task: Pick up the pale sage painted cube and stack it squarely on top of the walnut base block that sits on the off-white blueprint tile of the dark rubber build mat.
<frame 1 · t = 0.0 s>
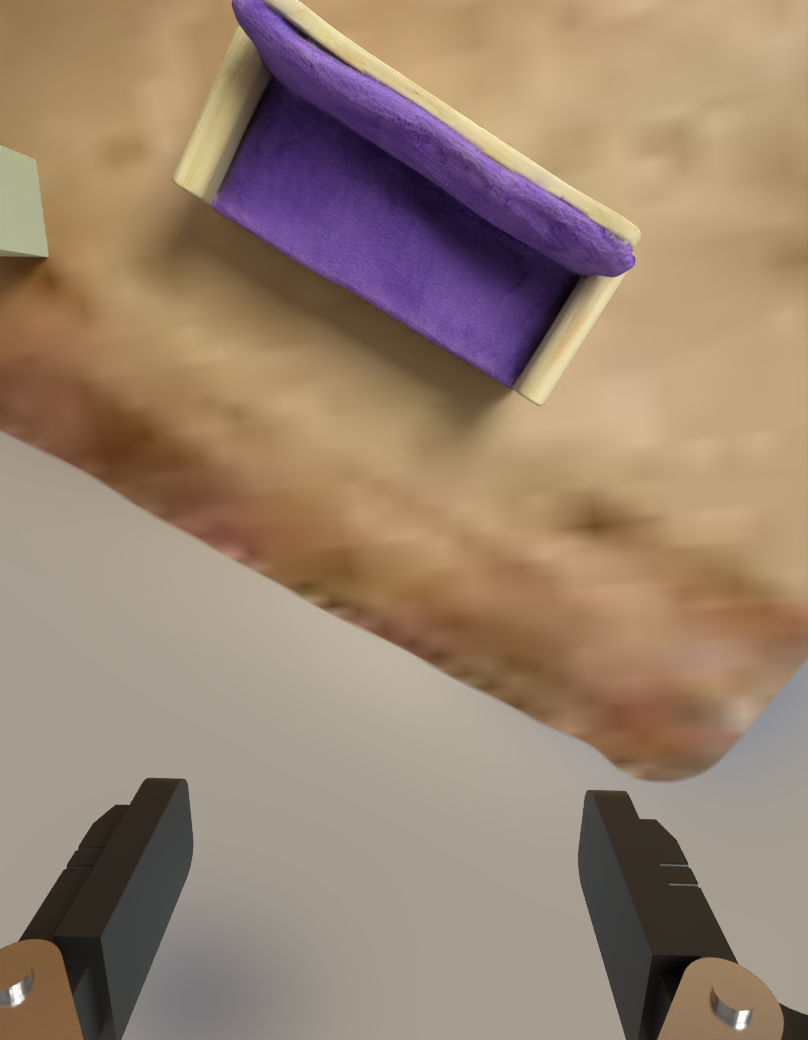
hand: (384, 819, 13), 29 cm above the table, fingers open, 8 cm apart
toy sofa: (407, 235, 37), on the table
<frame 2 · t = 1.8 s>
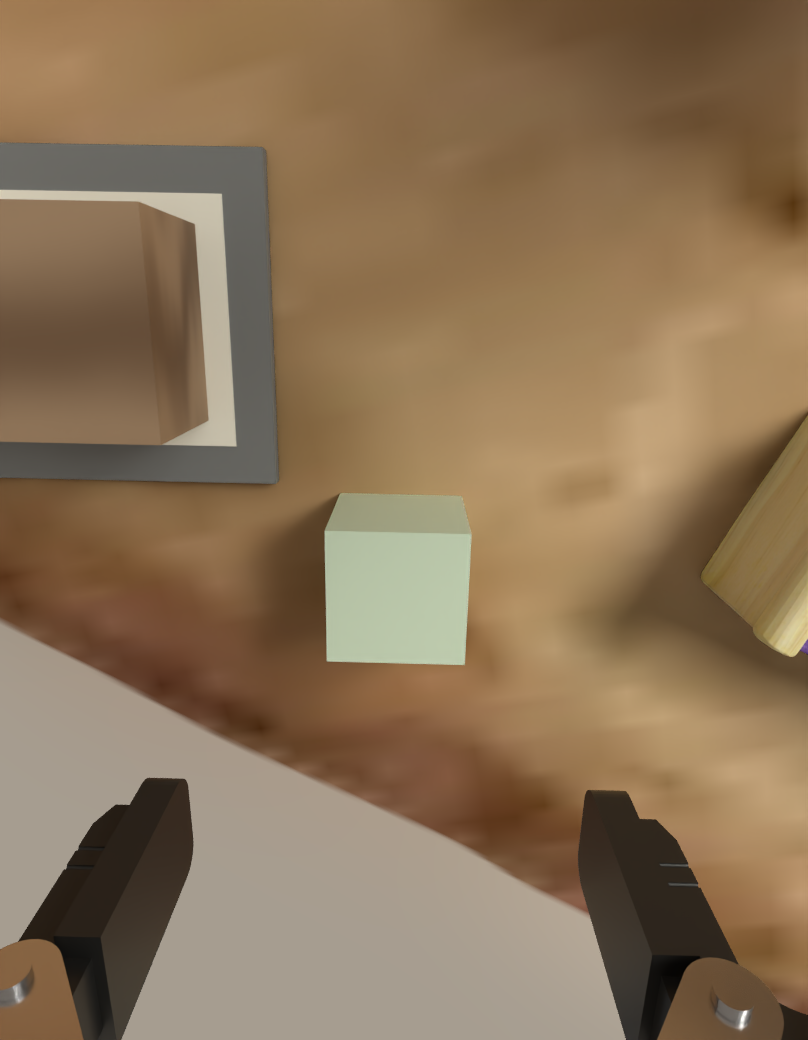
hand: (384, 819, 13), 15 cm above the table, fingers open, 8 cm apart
walnut base block: (108, 324, 25), point 1 cm above the table, touching build mat
build mat: (116, 324, 25), on the table
sage cube: (400, 550, 28), on the table
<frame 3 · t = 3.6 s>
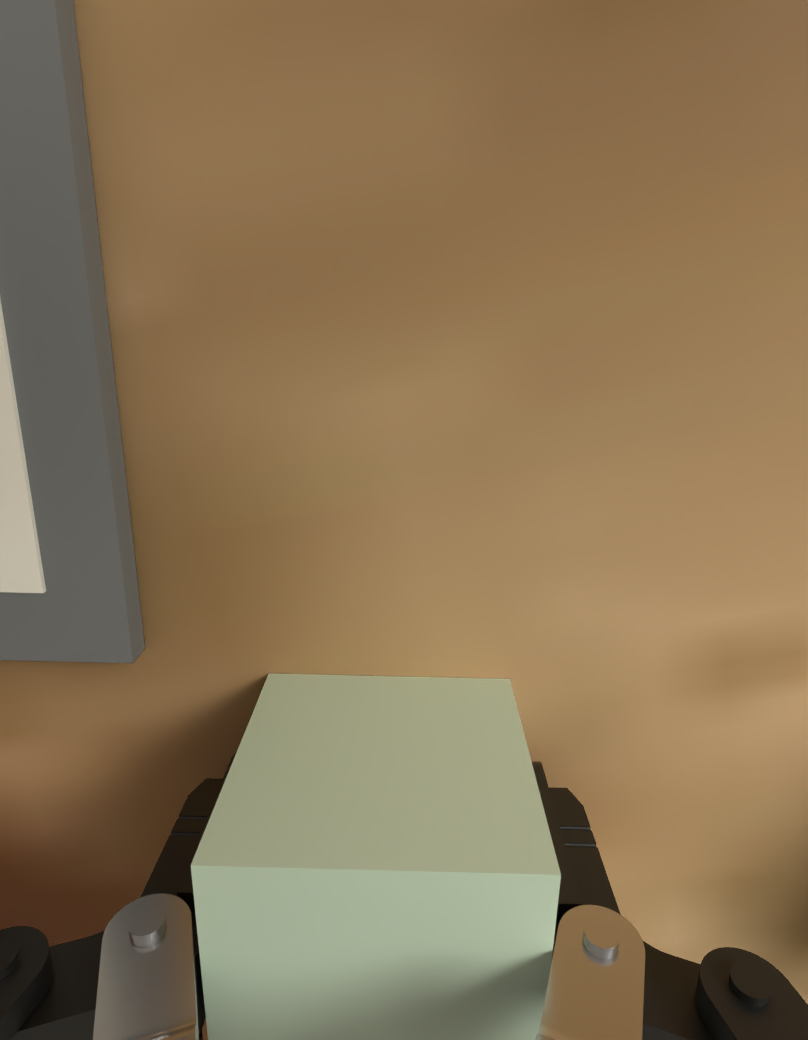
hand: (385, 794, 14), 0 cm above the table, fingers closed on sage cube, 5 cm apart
sage cube: (388, 777, 14), on the table, touching gripper
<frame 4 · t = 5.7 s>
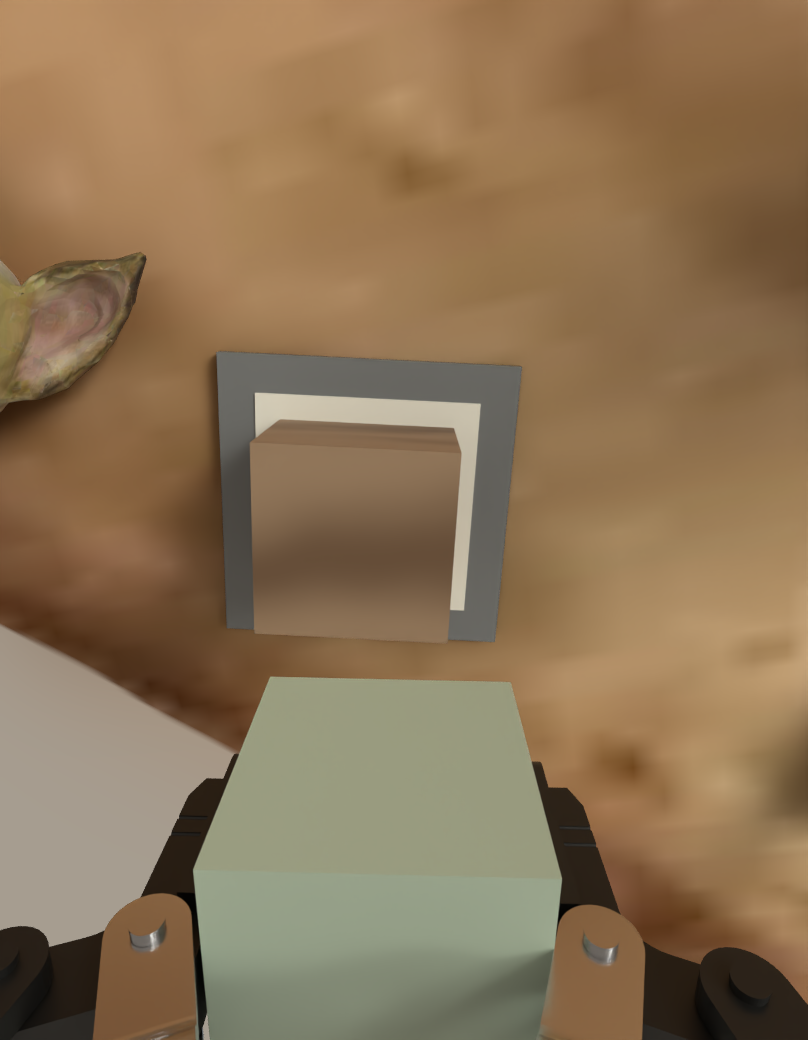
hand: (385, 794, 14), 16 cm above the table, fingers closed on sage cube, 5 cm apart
walnut base block: (364, 506, 28), point 1 cm above the table, touching build mat
build mat: (365, 502, 28), on the table
sage cube: (389, 780, 14), point 15 cm above the table, touching gripper
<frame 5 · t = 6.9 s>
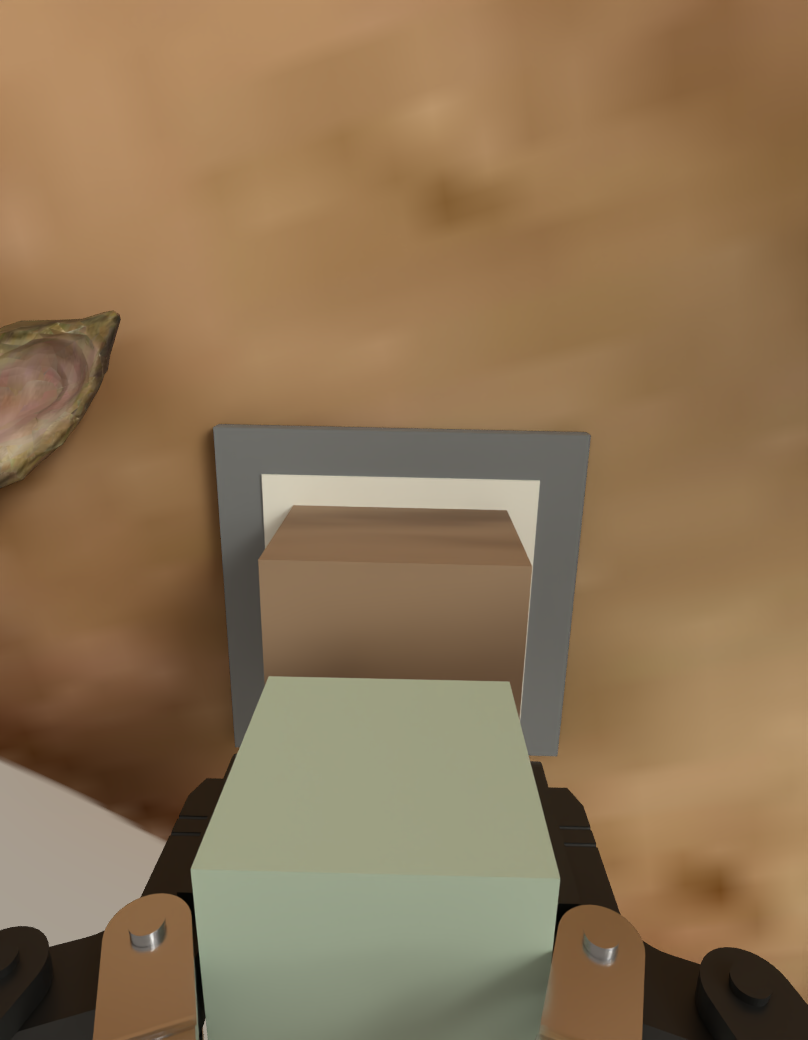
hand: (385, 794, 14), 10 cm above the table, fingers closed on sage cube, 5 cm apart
walnut base block: (398, 605, 23), point 1 cm above the table, touching build mat
build mat: (398, 597, 23), on the table
sage cube: (387, 779, 14), point 9 cm above the table, touching gripper
when the fingers open (7 cm above the table, at t = 7.9 s): sage cube stays where it is, resting on walnut base block.
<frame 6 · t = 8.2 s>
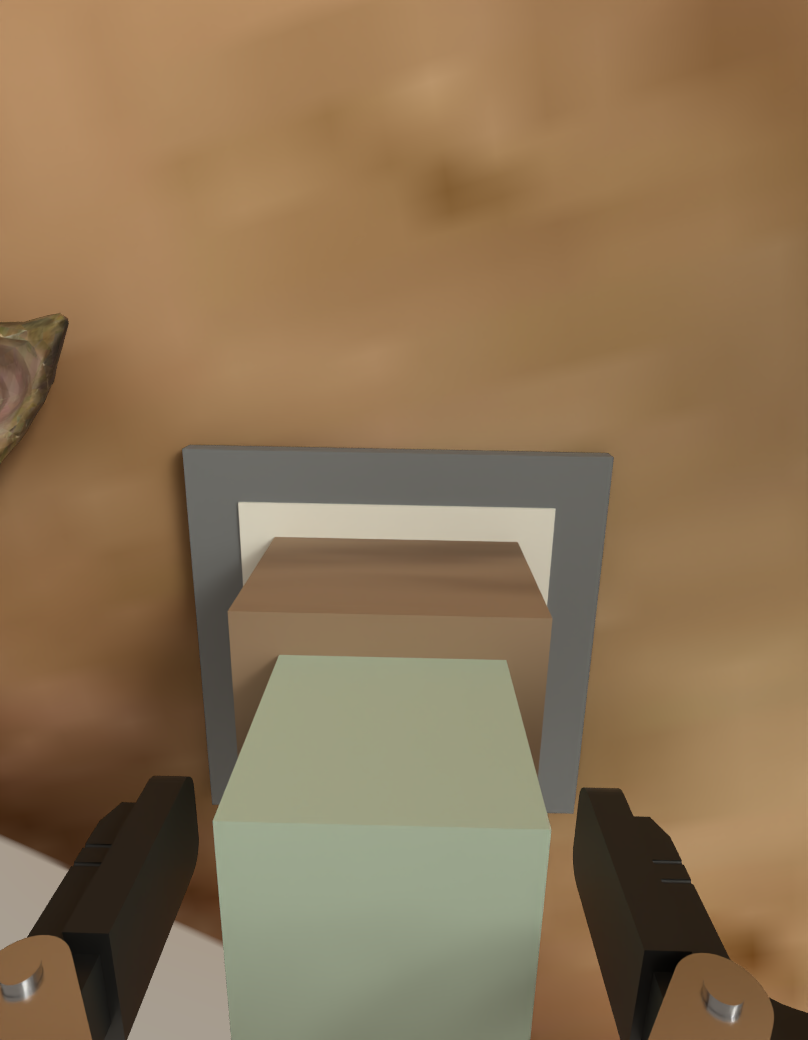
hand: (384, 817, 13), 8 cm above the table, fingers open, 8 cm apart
walnut base block: (394, 648, 20), point 1 cm above the table, touching build mat, sage cube
build mat: (395, 637, 21), on the table
sage cube: (391, 753, 15), point 6 cm above the table, touching walnut base block
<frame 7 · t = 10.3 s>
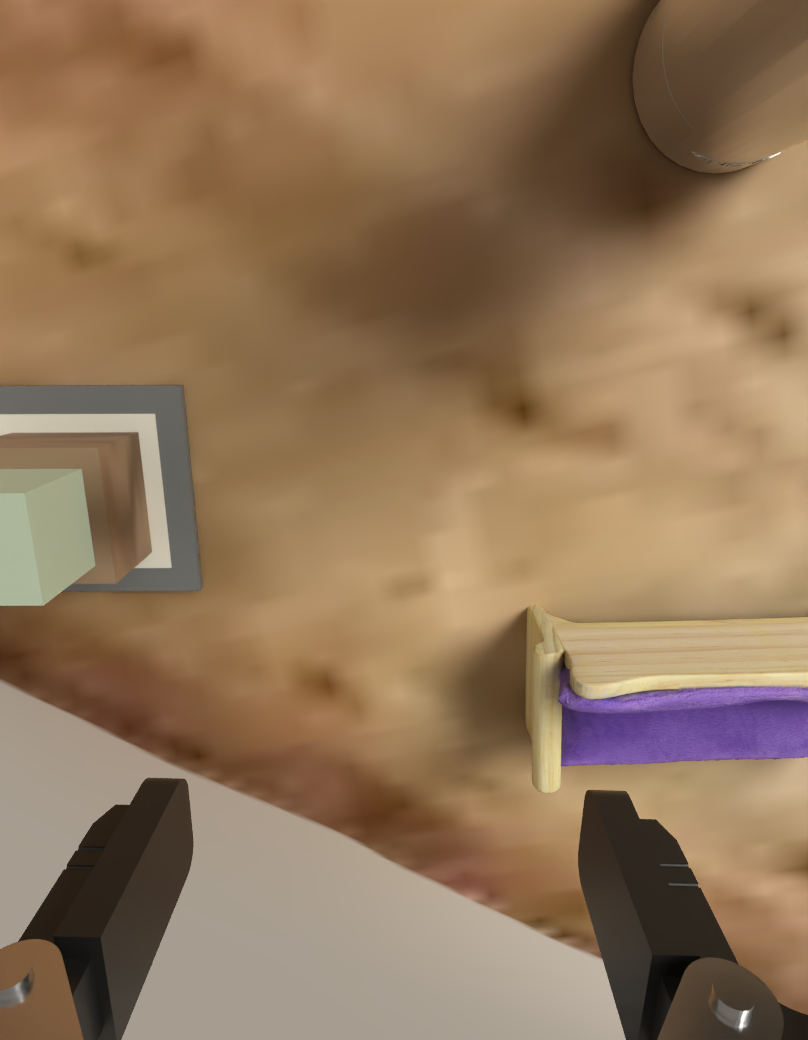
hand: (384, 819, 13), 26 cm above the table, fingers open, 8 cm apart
walnut base block: (83, 493, 37), point 1 cm above the table, touching build mat, sage cube
build mat: (89, 490, 38), on the table
sage cube: (38, 518, 33), point 6 cm above the table, touching walnut base block
toy sofa: (680, 658, 42), on the table
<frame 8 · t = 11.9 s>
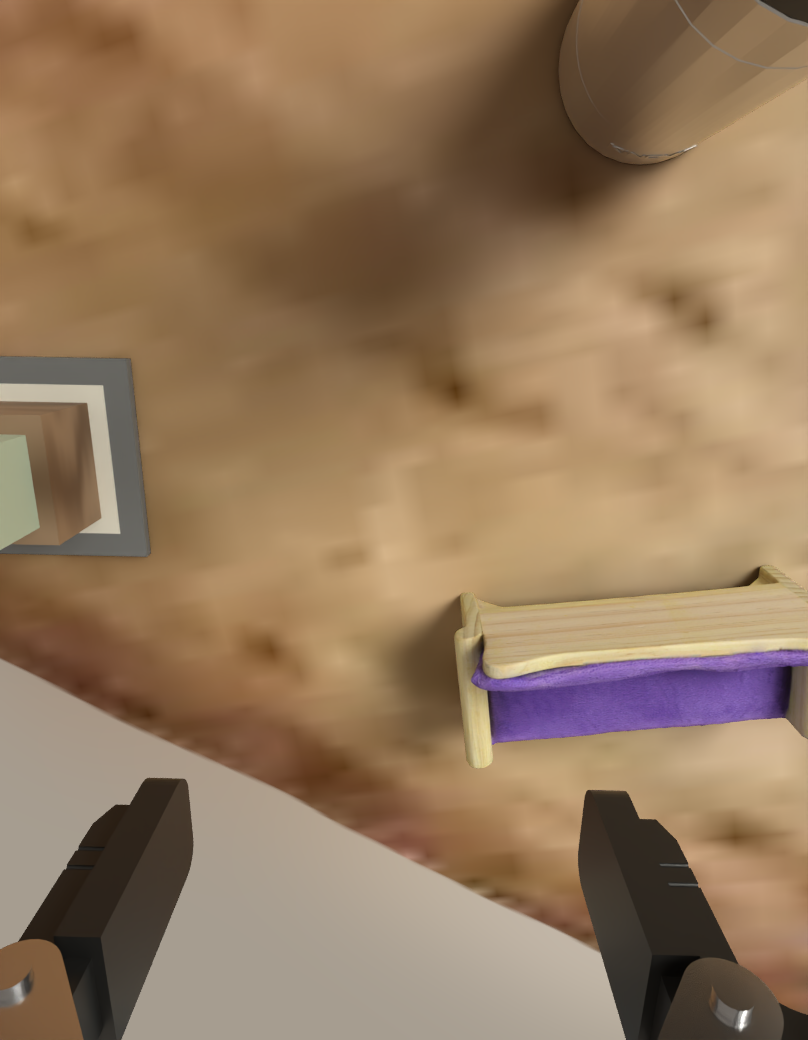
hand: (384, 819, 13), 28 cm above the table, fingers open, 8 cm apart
walnut base block: (36, 460, 39), point 1 cm above the table, touching build mat, sage cube
build mat: (42, 458, 40), on the table
toy sofa: (612, 635, 43), on the table
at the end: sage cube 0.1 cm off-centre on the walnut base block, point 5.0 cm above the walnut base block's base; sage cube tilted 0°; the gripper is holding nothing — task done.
